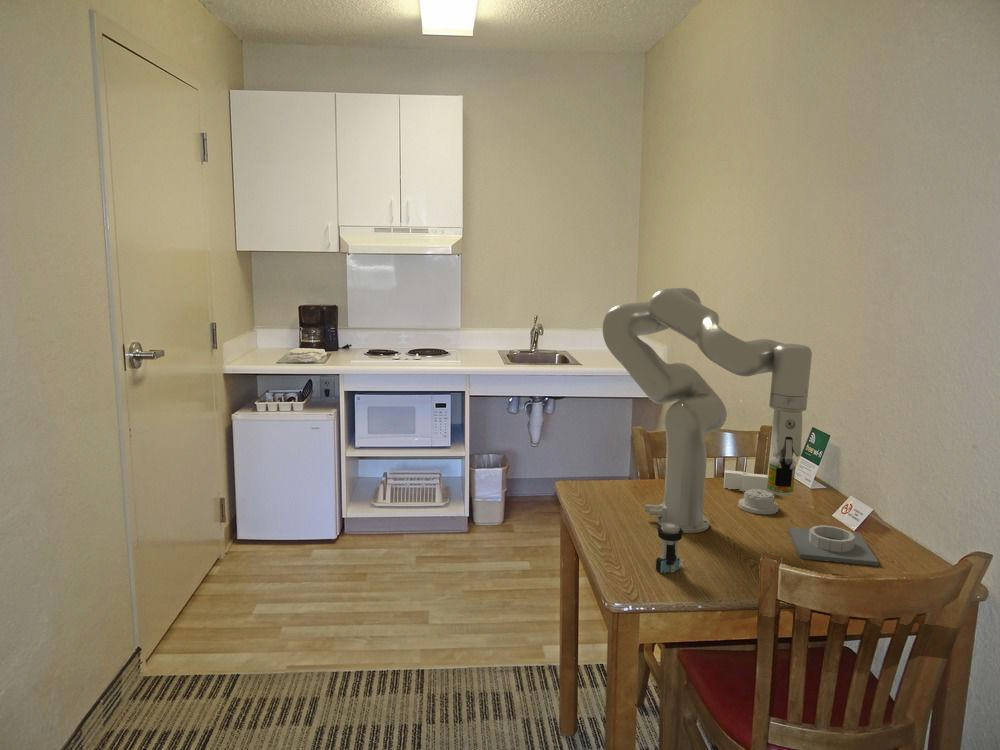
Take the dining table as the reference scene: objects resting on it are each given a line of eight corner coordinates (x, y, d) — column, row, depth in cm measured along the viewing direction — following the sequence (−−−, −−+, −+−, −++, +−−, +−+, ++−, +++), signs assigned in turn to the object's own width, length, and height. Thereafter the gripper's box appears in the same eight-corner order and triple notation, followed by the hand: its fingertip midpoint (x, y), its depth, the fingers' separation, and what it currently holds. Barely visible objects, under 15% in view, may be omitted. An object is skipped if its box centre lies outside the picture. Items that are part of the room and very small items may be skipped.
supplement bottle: (762, 491, 160) (766, 448, 158) (773, 485, 164) (777, 444, 162) (786, 497, 156) (790, 454, 154) (797, 492, 160) (801, 449, 158)
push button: (674, 561, 158) (676, 518, 156) (691, 571, 153) (693, 526, 151) (650, 567, 155) (652, 523, 153) (666, 577, 150) (669, 532, 148)
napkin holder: (778, 494, 203) (780, 475, 202) (754, 502, 196) (756, 482, 195) (733, 480, 215) (734, 461, 214) (709, 487, 208) (710, 468, 207)
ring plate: (799, 558, 160) (801, 543, 160) (788, 531, 176) (789, 517, 175) (878, 566, 157) (879, 551, 156) (859, 537, 172) (860, 523, 171)
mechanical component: (746, 515, 186) (784, 515, 186) (747, 499, 185) (786, 499, 186) (732, 502, 196) (769, 502, 196) (734, 486, 195) (770, 486, 195)
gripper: (814, 411, 147) (805, 496, 150) (799, 394, 163) (792, 471, 167) (775, 408, 149) (767, 492, 152) (764, 392, 165) (758, 468, 168)
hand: (780, 480), depth 159 cm, fingers closed on supplement bottle, 5 cm apart
